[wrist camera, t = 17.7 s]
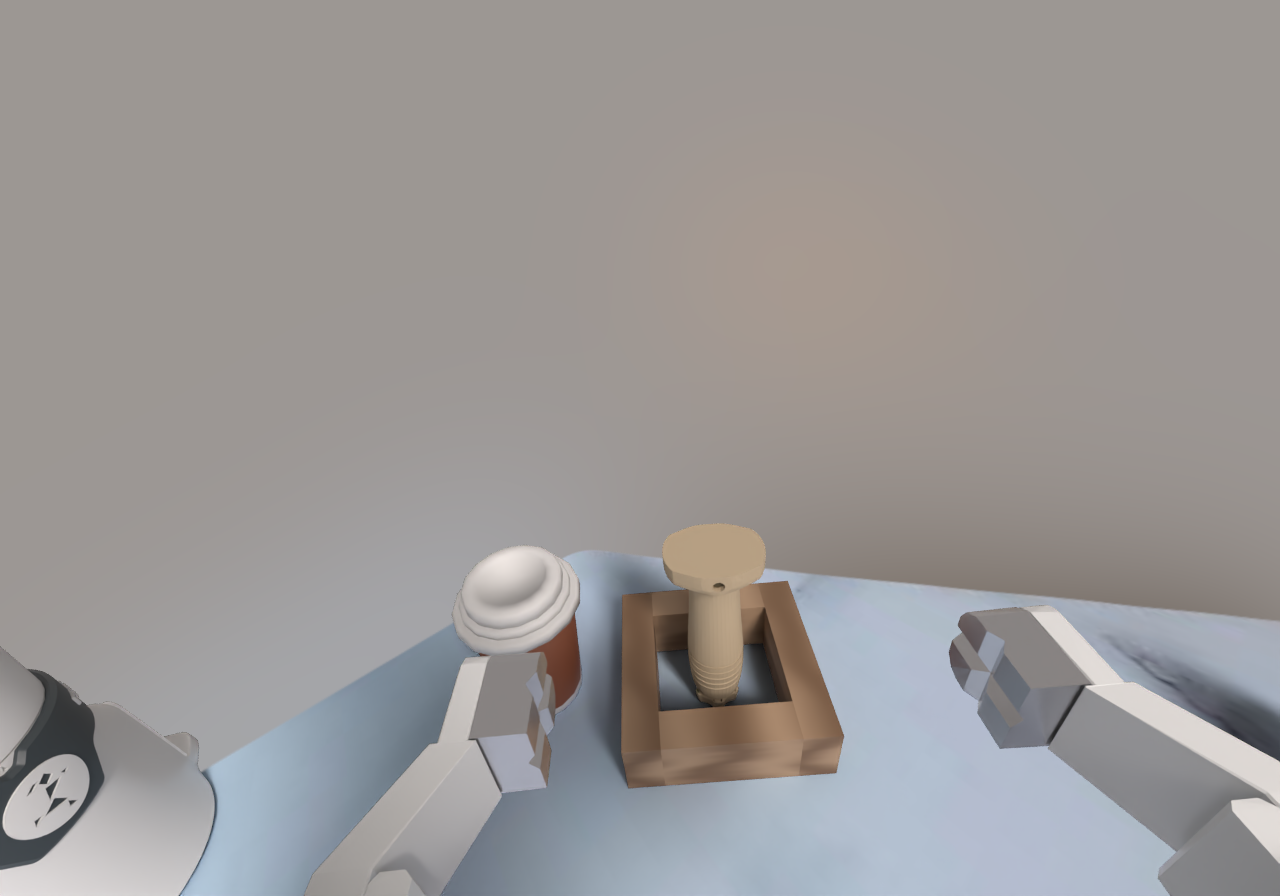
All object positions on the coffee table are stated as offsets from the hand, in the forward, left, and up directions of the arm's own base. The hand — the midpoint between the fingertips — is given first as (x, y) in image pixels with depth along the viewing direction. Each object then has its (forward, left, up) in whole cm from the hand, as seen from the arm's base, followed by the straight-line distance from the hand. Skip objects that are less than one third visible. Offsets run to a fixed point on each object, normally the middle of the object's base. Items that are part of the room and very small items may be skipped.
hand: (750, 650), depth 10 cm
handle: (+2, +17, -29) cm, 34 cm away
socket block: (+2, +18, -29) cm, 34 cm away
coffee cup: (-12, +20, -29) cm, 37 cm away
